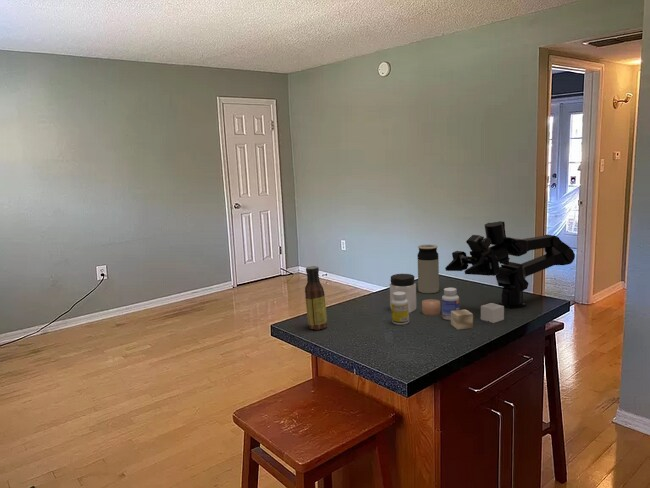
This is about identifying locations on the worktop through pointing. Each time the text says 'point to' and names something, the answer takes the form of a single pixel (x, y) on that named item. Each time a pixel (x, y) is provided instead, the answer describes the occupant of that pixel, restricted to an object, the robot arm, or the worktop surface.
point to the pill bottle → (449, 302)
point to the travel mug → (428, 269)
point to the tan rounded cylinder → (431, 307)
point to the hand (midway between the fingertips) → (455, 270)
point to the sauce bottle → (315, 300)
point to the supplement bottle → (400, 308)
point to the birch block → (461, 319)
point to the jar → (404, 289)
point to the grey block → (492, 312)
